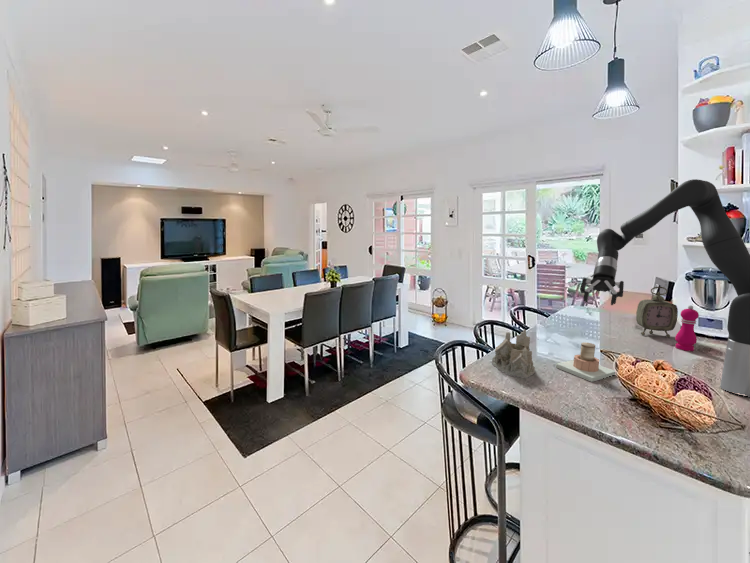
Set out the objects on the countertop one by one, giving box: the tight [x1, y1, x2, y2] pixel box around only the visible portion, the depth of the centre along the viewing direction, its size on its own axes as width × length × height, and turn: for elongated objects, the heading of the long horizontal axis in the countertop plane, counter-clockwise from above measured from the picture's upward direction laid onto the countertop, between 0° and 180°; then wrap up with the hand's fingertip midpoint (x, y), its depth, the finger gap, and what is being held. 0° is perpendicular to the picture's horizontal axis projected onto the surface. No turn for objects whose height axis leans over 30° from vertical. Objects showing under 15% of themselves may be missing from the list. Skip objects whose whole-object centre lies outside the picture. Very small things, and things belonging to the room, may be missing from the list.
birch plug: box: [579, 341, 596, 362], centre depth 130 cm, size 4×4×9 cm
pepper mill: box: [674, 305, 699, 352], centre depth 155 cm, size 7×7×20 cm
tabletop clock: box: [635, 286, 679, 338], centre depth 175 cm, size 14×9×25 cm, turn 73°
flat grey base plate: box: [555, 354, 616, 383], centre depth 130 cm, size 14×14×5 cm
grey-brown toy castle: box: [491, 328, 536, 379], centre depth 132 cm, size 16×16×15 cm
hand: (598, 302), depth 135 cm, fingers open, 8 cm apart
